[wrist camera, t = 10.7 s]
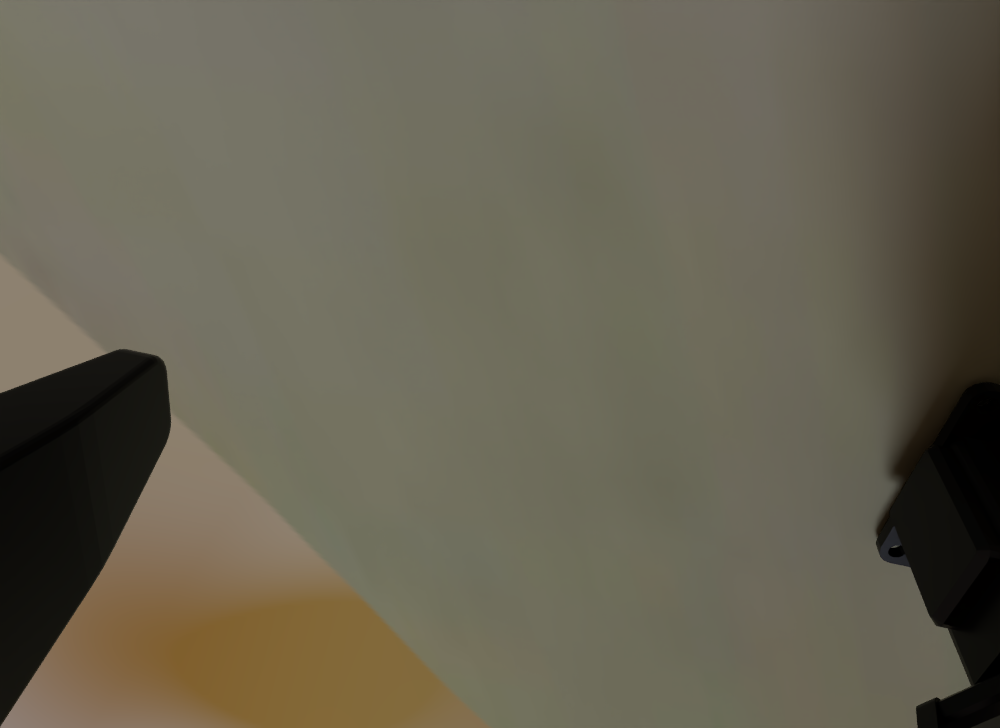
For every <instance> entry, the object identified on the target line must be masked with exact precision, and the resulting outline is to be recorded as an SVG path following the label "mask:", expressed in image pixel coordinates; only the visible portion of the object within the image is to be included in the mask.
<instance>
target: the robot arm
mask: <svg viewBox="0 0 1000 728" xmlns="http://www.w3.org/2000/svg"><path fill="white" fill-rule="evenodd" d="M985 399H992V400H991V401H990V402H989V403H988V404H985V405H983V406H977V405H978V404H979V403H980V402H981V401H982V400H985ZM170 427H171V414H170V403H169V391H168V380H167V370H166V366H165V364H164V361H163V360H162V359H161V358H159V357H158V356H156V355H151V354H147V353H142V352H137V351H132V350H127V349H119V350H116V351H113V352H110V353H108V354H105V355H102V356H100V357H97V358H94V359H92V360H89V361H86V362H84V363H81V364H78V365H75V366H73V367H70V368H67V369H64V370H62V371H59V372H57V373H54V374H51V375H48V376H46V377H43V378H40V379H38V380H35V381H32V382H29V383H27V384H24V385H21V386H19V387H16V388H14V389H11V390H8V391H5V392H2V393H0V726H1V724H2V723H3V722H4V720H5V718H6V717H7V715H8V714H9V712H10V711H11V709H12V708H13V706H14V705H15V703H16V702H17V700H18V699H19V697H20V695H21V694H22V692H23V691H24V689H25V688H26V686H27V685H28V683H29V682H30V680H31V679H32V677H33V676H34V674H35V673H36V671H37V669H38V668H39V666H40V665H41V663H42V662H43V660H44V659H45V657H46V656H47V654H48V653H49V651H50V650H51V648H52V646H53V645H54V643H55V642H56V640H57V639H58V637H59V636H60V634H61V633H62V631H63V630H64V628H65V627H66V625H67V624H68V622H69V620H70V619H71V617H72V616H73V614H74V613H75V611H76V610H77V608H78V607H79V605H80V604H81V602H82V601H83V599H84V598H85V596H86V594H87V593H88V591H89V590H90V588H91V587H92V585H93V583H94V582H95V580H96V578H97V577H98V575H99V574H100V572H101V570H102V569H103V567H104V565H105V563H106V561H107V559H108V558H109V556H110V554H111V552H112V550H113V548H114V547H115V544H116V543H117V540H118V539H119V537H120V535H121V532H122V531H123V529H124V526H125V525H126V523H127V521H128V519H129V517H130V515H131V512H132V510H133V509H134V507H135V505H136V503H137V500H138V499H139V497H140V495H141V492H142V491H143V489H144V487H145V485H146V483H147V481H148V479H149V477H150V475H151V473H152V471H153V469H154V467H155V465H156V462H157V461H158V459H159V457H160V455H161V453H162V451H163V449H164V447H165V445H166V442H167V439H168V436H169V433H170ZM876 545H877V549H878V551H879V554H880V557H881V558H882V559H883V560H884V561H887V562H889V563H893V564H898V565H903V566H908V567H911V570H912V572H913V575H914V578H915V580H916V583H917V585H918V588H919V590H920V593H921V595H922V598H923V600H924V603H925V606H926V608H927V611H928V613H929V616H930V617H931V619H932V620H933V622H934V623H935V625H936V626H939V627H944V628H948V630H949V633H950V635H951V638H952V640H953V642H954V645H955V647H956V650H957V652H958V655H959V657H960V659H961V662H962V664H963V667H964V669H965V672H966V674H967V677H968V679H969V681H970V684H971V686H970V687H968V688H966V689H964V690H962V691H959V692H957V693H955V694H953V695H951V696H948V697H946V698H944V699H942V700H940V699H939V698H937V697H936V698H934V699H931V700H929V701H927V702H925V703H923V704H921V705H918V706H916V714H917V725H918V728H1000V385H999V384H994V383H984V382H983V383H979V384H975V385H973V386H972V387H970V388H968V389H967V390H966V391H965V392H964V394H963V395H962V397H961V398H960V400H959V402H958V403H957V405H956V407H955V409H954V410H953V412H952V414H951V415H950V417H949V419H948V420H947V422H946V424H945V425H944V427H943V429H942V430H941V432H940V434H939V435H938V437H937V439H936V440H935V442H934V444H933V445H932V446H931V447H930V448H928V449H927V450H926V451H925V452H924V454H923V455H922V457H921V459H920V460H919V462H918V464H917V465H916V467H915V469H914V470H913V472H912V474H911V476H910V477H909V479H908V481H907V482H906V484H905V486H904V487H903V489H902V491H901V492H900V494H899V496H898V498H897V499H896V501H895V503H894V504H893V506H892V508H891V509H890V518H889V519H888V521H887V523H886V524H885V526H884V528H883V529H882V531H881V533H880V534H879V536H878V538H877V541H876ZM895 545H900V546H898V547H895V548H891V547H893V546H895Z"/></svg>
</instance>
